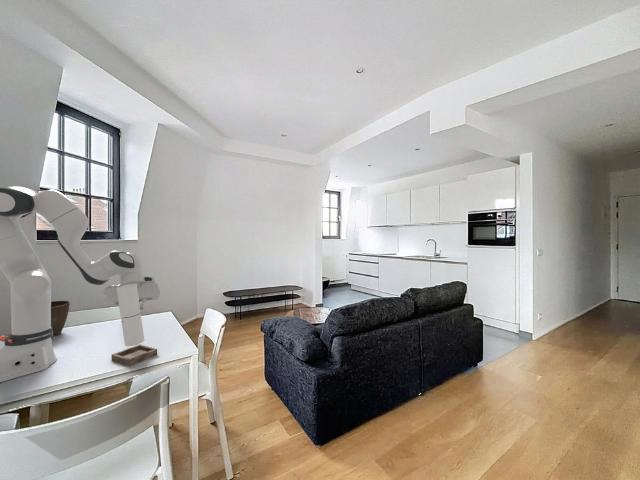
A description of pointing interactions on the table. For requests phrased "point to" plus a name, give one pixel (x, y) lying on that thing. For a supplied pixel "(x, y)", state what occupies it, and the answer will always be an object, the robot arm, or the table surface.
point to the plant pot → (59, 315)
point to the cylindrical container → (130, 314)
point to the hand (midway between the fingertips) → (135, 309)
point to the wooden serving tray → (134, 355)
